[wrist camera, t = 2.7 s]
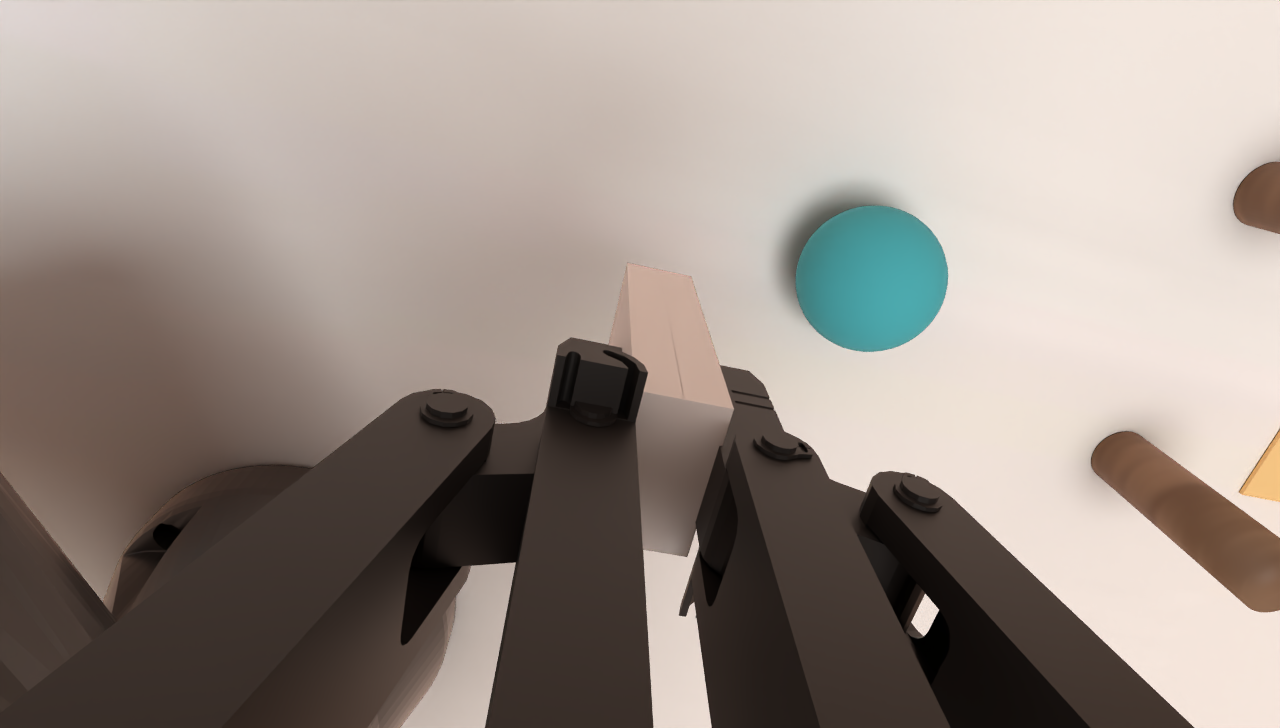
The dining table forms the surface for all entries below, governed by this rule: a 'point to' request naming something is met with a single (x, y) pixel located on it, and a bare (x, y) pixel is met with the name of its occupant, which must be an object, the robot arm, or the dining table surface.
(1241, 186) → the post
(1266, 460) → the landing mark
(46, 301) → the dining table surface
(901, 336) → the ball
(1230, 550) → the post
